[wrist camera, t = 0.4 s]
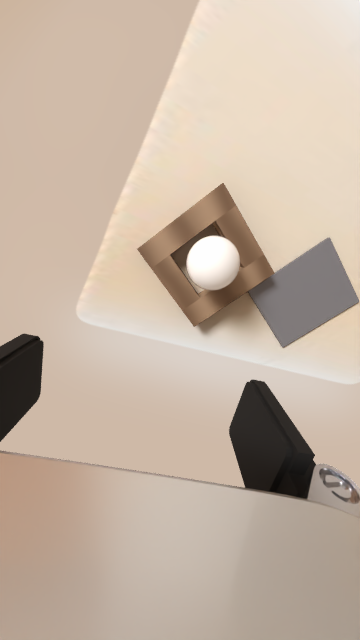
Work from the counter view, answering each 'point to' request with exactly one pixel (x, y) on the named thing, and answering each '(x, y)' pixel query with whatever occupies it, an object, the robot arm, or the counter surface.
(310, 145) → the counter surface
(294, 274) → the mat
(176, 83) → the counter surface
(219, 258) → the lightbulb
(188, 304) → the socket collar
